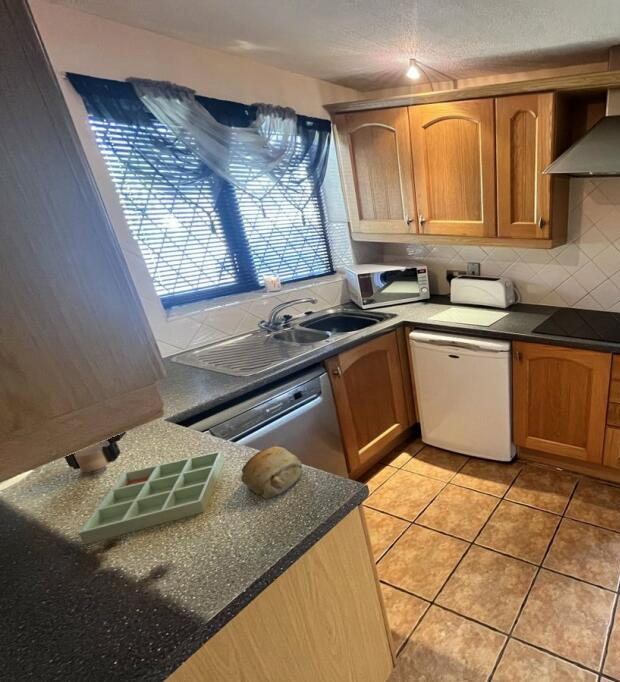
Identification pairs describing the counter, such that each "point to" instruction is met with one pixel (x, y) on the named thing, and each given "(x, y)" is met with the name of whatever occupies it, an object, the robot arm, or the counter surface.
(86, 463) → the beige short cylinder
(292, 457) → the pastry
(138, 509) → the grid
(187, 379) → the counter surface
